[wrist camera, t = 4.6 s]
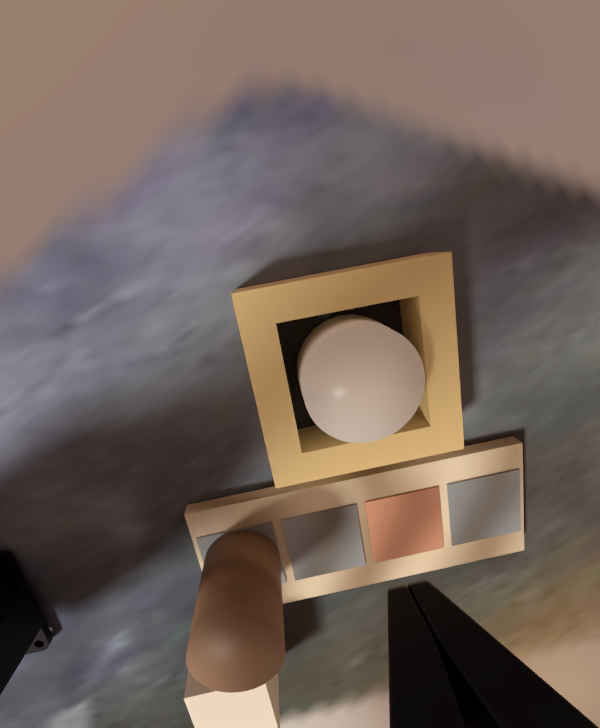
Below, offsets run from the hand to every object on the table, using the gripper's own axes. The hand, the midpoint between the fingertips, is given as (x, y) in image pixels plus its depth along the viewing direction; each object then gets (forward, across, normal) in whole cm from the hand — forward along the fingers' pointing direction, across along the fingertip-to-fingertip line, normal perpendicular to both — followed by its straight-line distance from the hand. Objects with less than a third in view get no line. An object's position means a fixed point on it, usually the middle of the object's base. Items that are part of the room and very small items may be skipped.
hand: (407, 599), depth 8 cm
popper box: (+12, -2, -2) cm, 12 cm away
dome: (+11, -2, -2) cm, 11 cm away
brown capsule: (+11, +6, +8) cm, 15 cm away
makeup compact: (+12, -1, +8) cm, 14 cm away
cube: (+12, +8, +14) cm, 20 cm away
